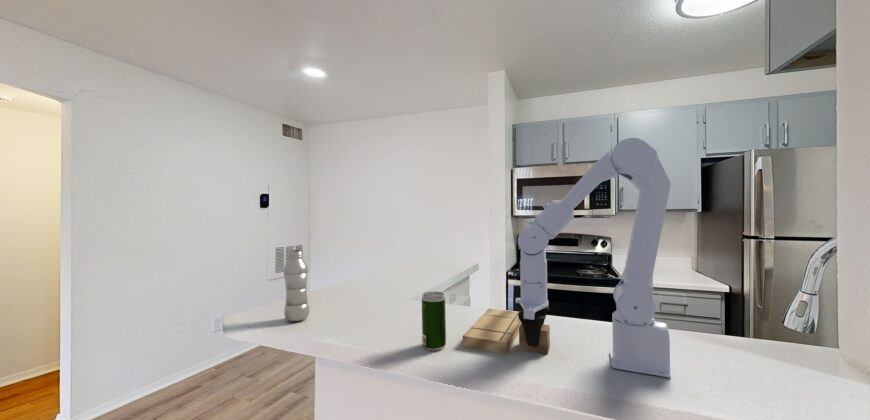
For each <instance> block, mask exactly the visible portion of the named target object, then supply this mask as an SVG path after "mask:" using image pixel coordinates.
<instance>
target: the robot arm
mask: <svg viewBox="0 0 870 420" xmlns="http://www.w3.org/2000/svg"><path fill="white" fill-rule="evenodd" d="M618 175H619V176H620V177H623V178H625V179H627V180H629V182H630V183H631V184H632V185H633V187H635V189H637V190H638V191H639V193H638V197H637V203H636V208H635V214H634V220H633V225H632V229H631V235H630V239H629V245H628V250H627V257H626V260H625V266H624V269H623V272H622V274H621V279H620V281H619V282H618V283H617V285H616V286H615V287H614V289H613V292H612V293H613V295H612V296H613V300H614V302H615V307H616V310H615V311H613V312H612V317H611V318H612V349H610V350H609V358H610V363H611V367H612V368H613V369H617V370H620V371H621V370H622V371H629V372H634V373H640V374H647V375H653V376H657V377H663V378H671V377H672V374H671V345H670V344H671V342H670V341H671V340H670V332H669V327H668V324H667V323H665V322H664V321H663V322H661V321H658V320H655V318H654V316H655V313H656V305H655V302H654V300H653V293H654V277H653V276H654V275H653V274H654V270H655V265H656V261H657V256H658V250H659V245H660V241H661V236H662V232H663V231H662V230H663V225H664V221H665V215H666V210H667V206H668V200H669V195H670V191H671V180H670V178H669V176H668V174H667V172H666V170H665V169H664V165H662V163H661V160H660V158H659V155H658V152H657V149H655V148H654V147H653V146H651V145H650V144H649V143H648V142H647V141H645V140H644V139H641V138H638V137H628V138H624V139H622V140H620V141H619V142H618V143H617V144H615V146H614V148H613V150H612V152H611V150H609V151H608V152H606V153H605V154H604V155H603V156H601V158H599V159H598V160H597V161H596V162H595V163H593V165H592V166H591V167H589V168H588V170H587V171H586V172H585V173H584V175H583V176H582V177H581V178H580V179H579V180H578V181H577V182H576V183H575V184H574V185H573V187H572V188H571V189H570V190H569V191H568V192H567V193H566V195H565V196H564V197H562V199H555V200H551V201H550V203H549V202H546V203H545V204H543V206H542V208H543V210H542V211H541V212H540V213H539V214H538V215H537V217H536V218H534V220H532V219H531V220H530V221H528V223H527V224H528V225H529V227H525V228H523V229H522V230H521V232H520V233H519V235H518V238H517V244H518V247H519V249H520V254H519V255H520V260H519V269H520V270H519V272H520V274H519V275H520V297H516V298H515V303H516V304H519V305H520V306H521V308H522V310H523V311H522V310H521V311H518V312H519V313H518V317H519V319H520V321H521V323H522V325H523V328H524V331H525V336H526V340H527V344H528V346H533V347H538V344H539V340H540V332H541V327H542V324H544V323H545V319H546V318H547V314H548V312H549V310H550V306H549V300H548V261H547V253H546V252H547V251H546V248H547V246H548V244H549V240H553V239H555V238H556V237H557V236H558V235H559V233H561V232H562V231H563V229H565V228H566V227H567V226H568V225H569V224H570V223H571V222H572V221H573V220H574V218H575V214H574V210H575V208H576V207H577V206H578V205H579V204H580V203H581V202H583V200H584V199H585V198H586V197H588V195H589V194H591V193H592V192H593V190H595V188H597V187H598V186H599V185H600V184H601V183H602V182H605V181H608V180H611V179H614V178H616V177H617V176H618ZM544 325H545V324H544Z"/></svg>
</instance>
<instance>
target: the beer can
mask: <svg viewBox="0 0 870 420" xmlns="http://www.w3.org/2000/svg"><path fill="white" fill-rule="evenodd" d="M446 318H447V317H446V297H445V293H444V292H442V291H425V292H424V293H422V297H421V331H422V332H421V336H422V337H421V340H422V343H421V345H422V346H423V349H424V350H426V351H429V352H439V351H443V350H444V348H445V347H446V345H447V333H446V332H447V329H446V320H447V319H446Z"/></svg>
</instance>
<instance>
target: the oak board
mask: <svg viewBox="0 0 870 420" xmlns="http://www.w3.org/2000/svg"><path fill="white" fill-rule="evenodd" d="M519 312H520V311H514V310H513V311H512V310H505V309H497V308H487V310H486V311H485V312H484V314H482V315H481V316H480V317H479V318H478V319H477V320H476V321H475V322H474V324H472V325H471V326H470V328H469V329H468V330H466V332H465V333H464V334H462V348H467V349H468V348H469V349H474V350H479V351H486V352H492V353H498V354H502V355H508V353H509V351H510V349H511V347H512V346H513V344H514V342H515V340H516V338H517V337H518V336H519V327H520V325H521V321H520V319H519V317H518V313H519Z"/></svg>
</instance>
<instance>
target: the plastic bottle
mask: <svg viewBox="0 0 870 420" xmlns="http://www.w3.org/2000/svg"><path fill="white" fill-rule="evenodd" d="M303 252H304V251H303V250H302V249H293V250H288V256H287V258H289V259H288V261H286V263H285V265H284V266H283V269H282V271H283V277H284V283H285V306H284V310H283V313H284V314H283V315H284V318H285V320H286V321H288V322H299V321H304V320H306V319H307V318H308V317H309V316H310V315H309V314H310V306H309V301H308V295H307V280H308V271H309V267H308V265H307V263H306V262H305V260H304V259H303V257H304V253H303Z"/></svg>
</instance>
